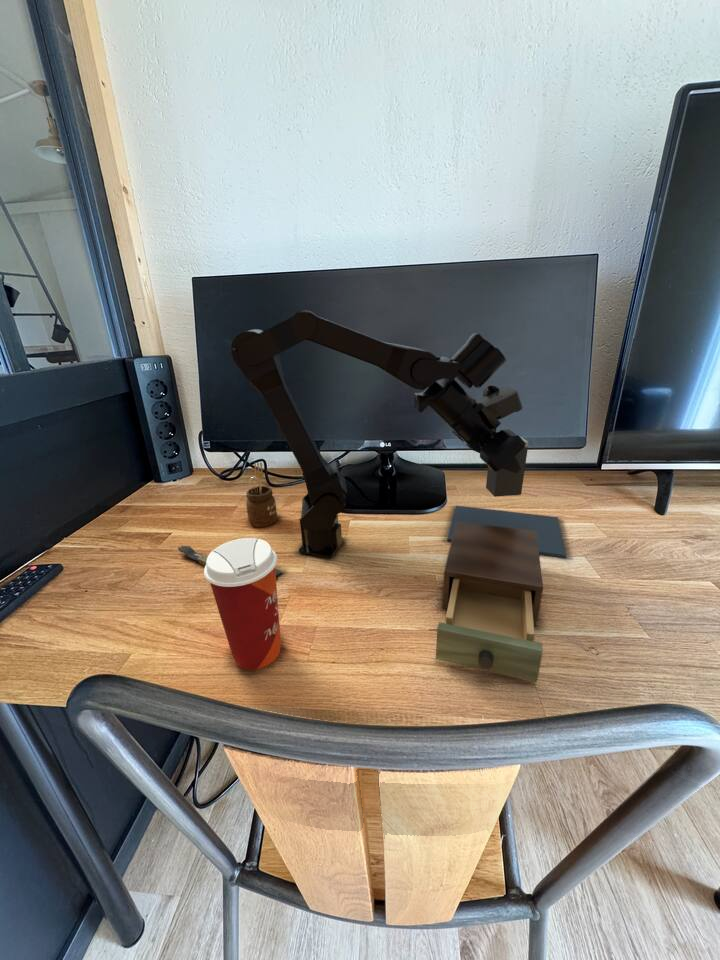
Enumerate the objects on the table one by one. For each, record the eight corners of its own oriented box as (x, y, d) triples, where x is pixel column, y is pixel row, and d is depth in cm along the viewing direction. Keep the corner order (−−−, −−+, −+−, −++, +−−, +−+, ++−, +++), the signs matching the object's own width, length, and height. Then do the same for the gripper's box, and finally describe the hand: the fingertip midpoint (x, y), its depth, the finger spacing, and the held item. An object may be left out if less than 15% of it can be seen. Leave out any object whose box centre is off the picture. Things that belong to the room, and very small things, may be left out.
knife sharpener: (494, 496, 71) (500, 443, 67) (485, 487, 75) (490, 436, 71) (521, 494, 71) (528, 441, 68) (511, 485, 75) (518, 434, 71)
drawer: (537, 692, 44) (544, 659, 42) (433, 667, 47) (435, 636, 46) (531, 604, 57) (535, 576, 55) (449, 590, 60) (451, 563, 58)
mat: (447, 541, 74) (447, 538, 74) (455, 507, 86) (455, 505, 86) (565, 558, 68) (566, 555, 68) (557, 519, 80) (557, 517, 80)
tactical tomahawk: (283, 575, 67) (283, 570, 67) (254, 595, 62) (253, 589, 62) (204, 540, 78) (204, 535, 78) (173, 554, 73) (172, 549, 72)
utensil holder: (246, 529, 81) (237, 474, 76) (251, 514, 87) (243, 463, 82) (276, 526, 82) (268, 472, 77) (279, 512, 87) (272, 461, 83)
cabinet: (536, 626, 54) (543, 587, 51) (442, 608, 58) (444, 570, 55) (530, 565, 67) (536, 531, 64) (454, 553, 70) (456, 520, 68)
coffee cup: (297, 661, 50) (284, 561, 44) (230, 688, 47) (206, 584, 41) (279, 619, 57) (265, 528, 51) (220, 640, 54) (197, 545, 48)
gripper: (520, 381, 56) (581, 451, 61) (473, 364, 73) (523, 420, 78) (461, 438, 58) (524, 501, 63) (429, 409, 75) (481, 460, 81)
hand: (513, 466), depth 71 cm, fingers closed on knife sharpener, 4 cm apart
